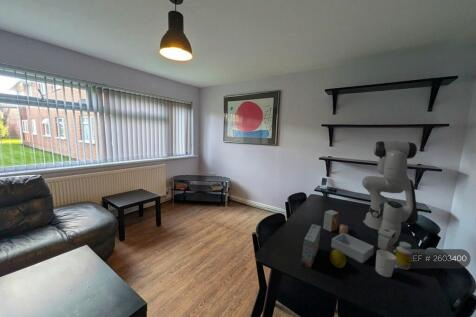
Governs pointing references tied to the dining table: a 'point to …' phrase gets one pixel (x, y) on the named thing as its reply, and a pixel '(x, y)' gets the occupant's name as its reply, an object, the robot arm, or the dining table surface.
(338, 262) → the lemon
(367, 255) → the tote
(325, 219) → the small box
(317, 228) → the snack box
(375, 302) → the dining table surface
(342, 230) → the brown oval piece
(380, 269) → the white cup
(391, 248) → the beech cube
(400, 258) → the supplement bottle
